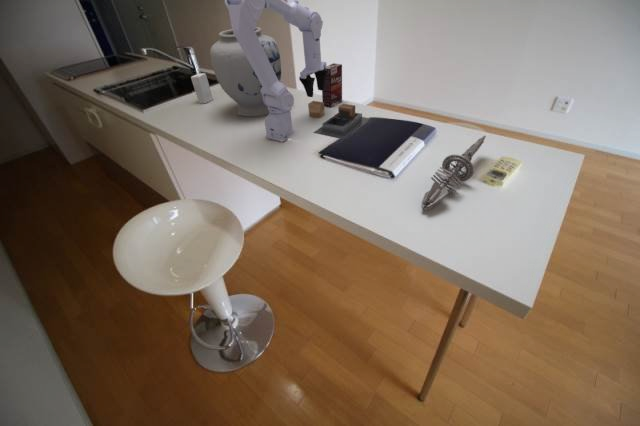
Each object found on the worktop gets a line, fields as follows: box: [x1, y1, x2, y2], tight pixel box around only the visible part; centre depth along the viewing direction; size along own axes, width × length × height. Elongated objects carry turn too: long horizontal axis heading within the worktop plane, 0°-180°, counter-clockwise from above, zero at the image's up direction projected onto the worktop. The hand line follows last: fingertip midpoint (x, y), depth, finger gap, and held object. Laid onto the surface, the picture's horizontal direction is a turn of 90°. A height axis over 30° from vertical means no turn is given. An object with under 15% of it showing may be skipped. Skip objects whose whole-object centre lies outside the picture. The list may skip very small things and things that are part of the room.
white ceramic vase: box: [209, 26, 282, 118], centre depth 117 cm, size 27×27×30 cm
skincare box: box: [190, 73, 214, 104], centre depth 135 cm, size 6×4×12 cm
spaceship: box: [420, 135, 487, 211], centre depth 74 cm, size 8×35×8 cm
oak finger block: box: [307, 100, 326, 119], centre depth 113 cm, size 4×5×6 cm
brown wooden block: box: [337, 103, 356, 120], centre depth 105 cm, size 4×5×6 cm
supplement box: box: [321, 63, 343, 109], centre depth 119 cm, size 9×5×16 cm, turn 143°
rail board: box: [313, 112, 371, 140], centre depth 105 cm, size 20×13×4 cm, turn 147°
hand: (315, 93), depth 109 cm, fingers open, 7 cm apart
